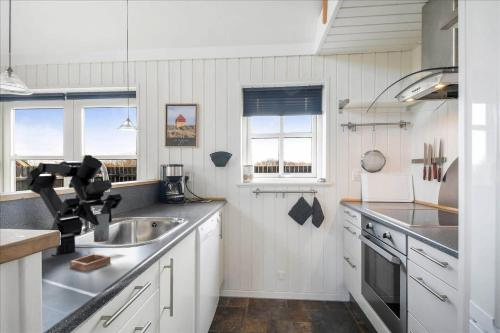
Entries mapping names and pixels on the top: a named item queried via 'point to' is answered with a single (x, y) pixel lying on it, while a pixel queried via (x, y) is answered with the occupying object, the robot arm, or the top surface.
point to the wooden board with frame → (98, 262)
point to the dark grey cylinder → (101, 227)
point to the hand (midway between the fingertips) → (104, 223)
